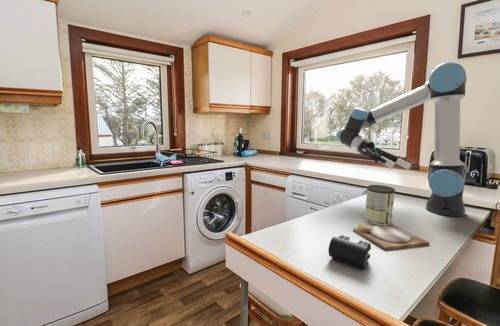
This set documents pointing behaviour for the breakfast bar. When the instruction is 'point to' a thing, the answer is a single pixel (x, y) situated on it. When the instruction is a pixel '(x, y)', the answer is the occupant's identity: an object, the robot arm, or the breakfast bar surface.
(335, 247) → the end cap
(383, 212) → the coffee can
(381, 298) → the breakfast bar surface
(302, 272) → the breakfast bar surface
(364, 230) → the carrier board
